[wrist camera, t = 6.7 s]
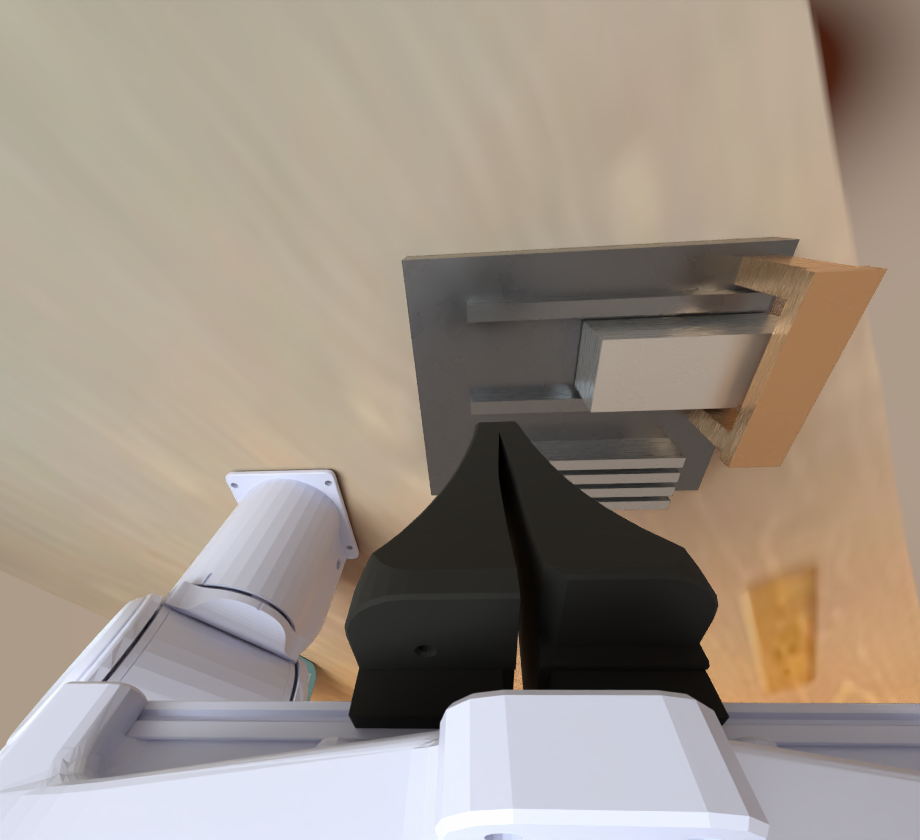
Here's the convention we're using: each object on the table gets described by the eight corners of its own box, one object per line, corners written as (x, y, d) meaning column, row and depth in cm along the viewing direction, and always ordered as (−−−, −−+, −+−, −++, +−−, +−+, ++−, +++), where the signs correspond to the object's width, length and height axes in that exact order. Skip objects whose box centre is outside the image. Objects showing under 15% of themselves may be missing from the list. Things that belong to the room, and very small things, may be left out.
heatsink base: (685, 475, 25) (741, 543, 20) (433, 480, 26) (424, 548, 20) (774, 237, 17) (903, 249, 12) (406, 256, 18) (381, 275, 13)
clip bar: (741, 379, 19) (784, 406, 16) (574, 385, 19) (590, 412, 17) (768, 312, 17) (821, 331, 15) (583, 320, 18) (602, 340, 15)
